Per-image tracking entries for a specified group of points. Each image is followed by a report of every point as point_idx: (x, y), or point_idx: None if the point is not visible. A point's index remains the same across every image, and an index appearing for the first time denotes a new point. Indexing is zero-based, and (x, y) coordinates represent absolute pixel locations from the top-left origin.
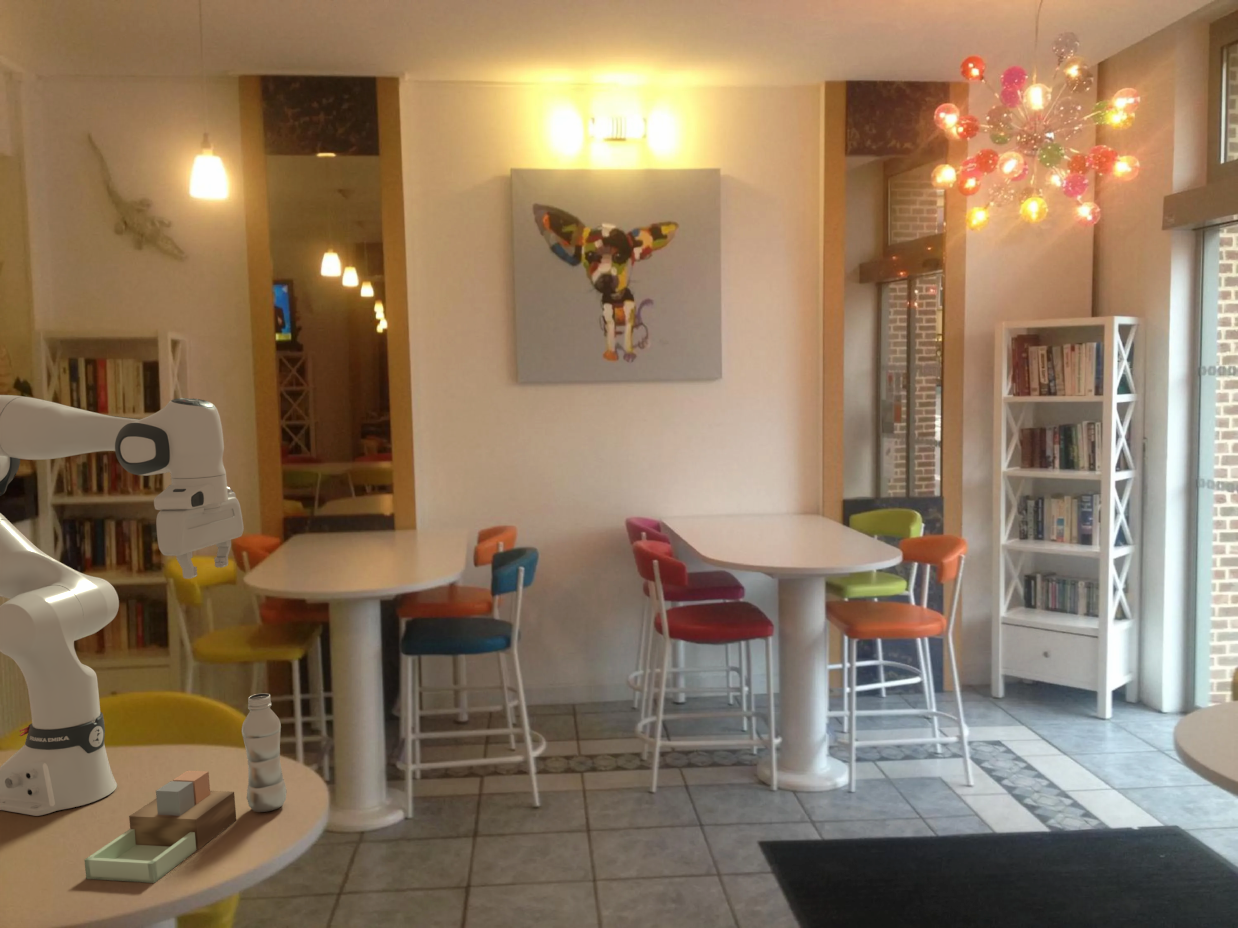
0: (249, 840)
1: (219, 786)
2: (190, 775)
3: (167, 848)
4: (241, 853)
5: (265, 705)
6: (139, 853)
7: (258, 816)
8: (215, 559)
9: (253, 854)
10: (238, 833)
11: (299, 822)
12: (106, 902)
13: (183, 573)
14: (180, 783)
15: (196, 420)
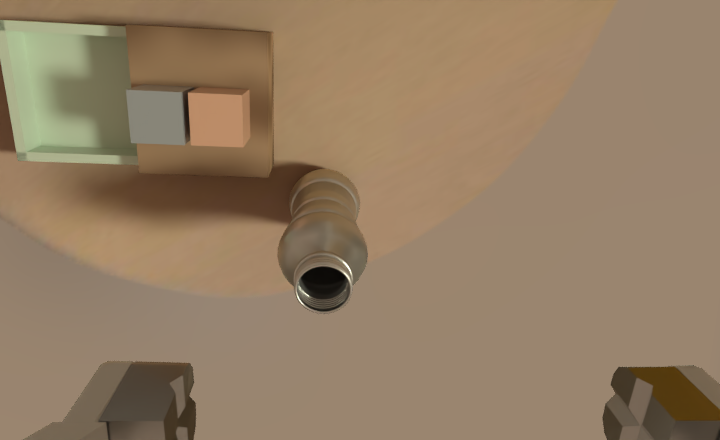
0: (203, 225)
1: (421, 45)
2: (217, 118)
3: None
4: (158, 235)
5: (310, 300)
6: (111, 67)
7: None
8: (659, 417)
9: (159, 255)
10: (224, 194)
11: (277, 271)
12: None
13: (92, 388)
14: (172, 122)
15: None
